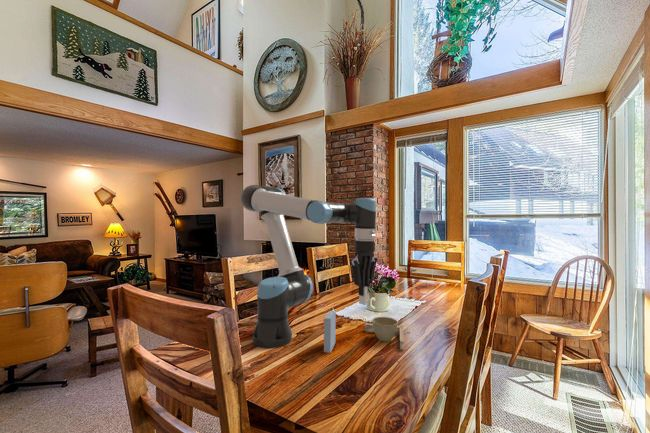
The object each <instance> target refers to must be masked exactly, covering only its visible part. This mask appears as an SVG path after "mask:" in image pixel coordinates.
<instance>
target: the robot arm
mask: <svg viewBox="0 0 650 433" xmlns="http://www.w3.org/2000/svg"><path fill="white" fill-rule="evenodd" d="M240 203H241V205H242V206H243V208H245V210H248V211H250V212H257V213H258V212H259V216H260V219H261V220H262V221H264V222H265V225H266V228H267V232H268V236H269V239H270V242H271V247H272V250H273V254H274V258H275V261H276V265H277V270H278V275H277V276H273V277H267V278H265V279H263V280H261V281H260V282H259V283H258V285H257V292H256V296H257V320H256V323H255V327H254V330H253V334H252V343H253V344H254V345H255V346H258V347H259V348H260V347H261V348H279V347H282V346H283V347H284V346H285V345H288V344H289V343H290V342H291V341H292V340H293V333H292V328H291V326H290V323H289V320H288V315H289V311H288V310H289V308H292V307H294V306H297V305H300V304H303V303H304V302H306V301H308V300H309V299H310V298H311V296H312V295H313V293H314V292H313V290H314V283H313V280H312V279H311V277H310V276H309V275H307V274H305V271H304V269H303V268H301V267H300V266H299V263H298V261H297V260H298V259H297V257H296V254H295V250H294V247H293V243H292V239H291V236H290V233H289V229H288V226H287V223H286V219H285V216H289V217H293V218H299V219H302V220H303V219H304V220H307V221H310V222H312V223H314V224H317V225H318V224H319V225H323V224H354V239H355V240H354V250H355V256H354V258H353V259H350V261H349V262H350V265H351V268H352V276H353V282H354V285H355V286H358V296H359V297H358V304H361V305H363V306H366V305H368V296H369V295H368V294H369V287H372V284H373V282H374V275H375V271H376V266H377V265H376V264H377V263H378V257H375V256H374V251H375V250H376V241H375V240H376V221H377V205H376V204H377V201H376V199H375V198H371V197H370V198H369V197H358V198H356V199H355V202H354V203H342V202H331V201H330V202H328V201H322V200H316V199H309V198H304V197H298V196H294V195H293V196H292V195H287V194H286V192H285V191H284V189H282V188H280V187H276V186H267V185H261V184H259V185H258V184H251V185H248V186H246V187H245V188H244V189H243V190H242V192H241V193H240Z"/></svg>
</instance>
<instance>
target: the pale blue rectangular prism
mask: <svg viewBox="0 0 650 433" xmlns="http://www.w3.org/2000/svg"><path fill="white" fill-rule="evenodd" d="M336 316H337V315H336V311H335V310H329V311H328V312H327V314H326V315H325V317H324V318H323V353H329V354H330V353H332V350H333V349H334V346H335V344H336V334H337V333H336V327H337V326H336V324H337V323H336V322H337V320H336Z"/></svg>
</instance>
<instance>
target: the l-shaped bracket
mask: <svg viewBox="0 0 650 433" xmlns="http://www.w3.org/2000/svg"><path fill="white" fill-rule="evenodd" d="M364 332H367V333H375V331H374V328H373V324H372V323H369V322H368V323H367V322H366V323H365V324H364ZM394 335H398V336H399V350H400V351H405V337H404V336H405V335H404V326H400V325H397V329H396V332H395V334H394Z"/></svg>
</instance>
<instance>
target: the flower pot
mask: <svg viewBox="0 0 650 433" xmlns="http://www.w3.org/2000/svg"><path fill="white" fill-rule="evenodd" d="M371 322H372V323H371V324H373V328H374V331H375V332H374V333H375V336H376V337H377V339H378V340H379V341H381V342H391V341H392V339H393V338H394V336H395V335H396V334H395V332H396V329H397V326H399V325H398V323H399V321H398V320H397V319H395V318H392V317H389V316H388V317H387V316H376V317H373V318H372V319H371Z"/></svg>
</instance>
